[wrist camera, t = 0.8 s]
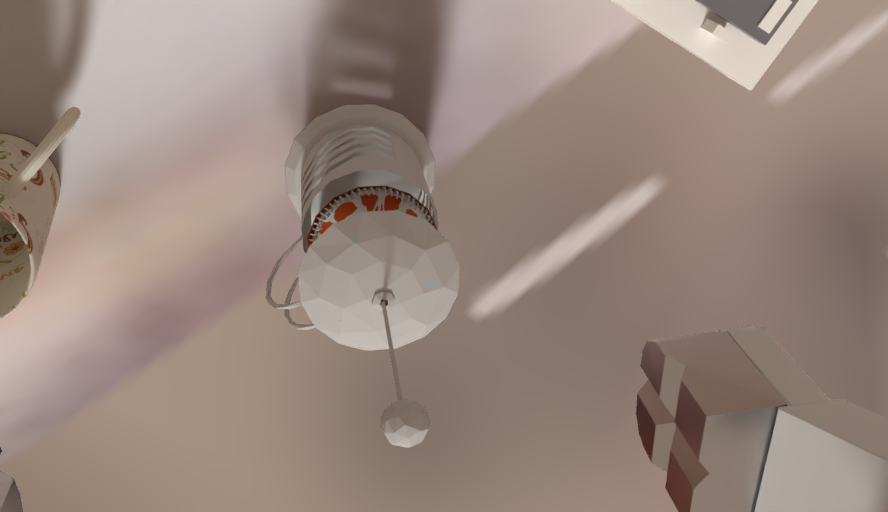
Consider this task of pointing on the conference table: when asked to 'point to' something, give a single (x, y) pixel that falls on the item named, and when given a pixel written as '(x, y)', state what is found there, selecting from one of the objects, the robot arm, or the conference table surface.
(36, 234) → the mug
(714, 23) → the rocker switch panel
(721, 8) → the block
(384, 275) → the french press
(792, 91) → the conference table surface
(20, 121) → the conference table surface
